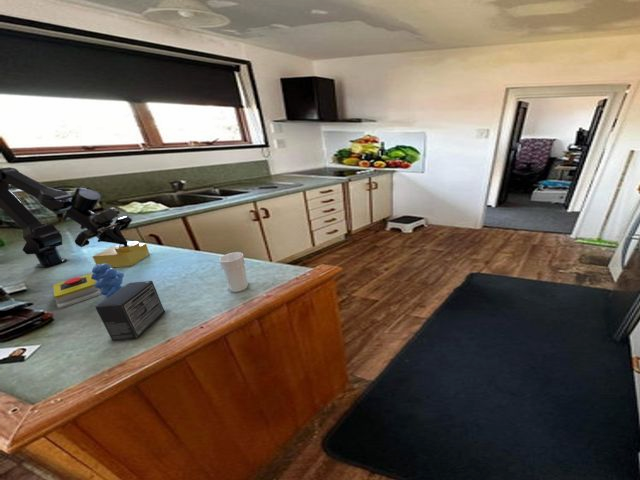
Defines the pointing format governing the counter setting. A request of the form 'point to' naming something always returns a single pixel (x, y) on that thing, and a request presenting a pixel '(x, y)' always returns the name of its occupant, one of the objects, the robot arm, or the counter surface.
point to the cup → (234, 271)
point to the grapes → (107, 279)
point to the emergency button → (75, 290)
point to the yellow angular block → (122, 255)
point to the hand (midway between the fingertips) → (126, 243)
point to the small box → (130, 310)
